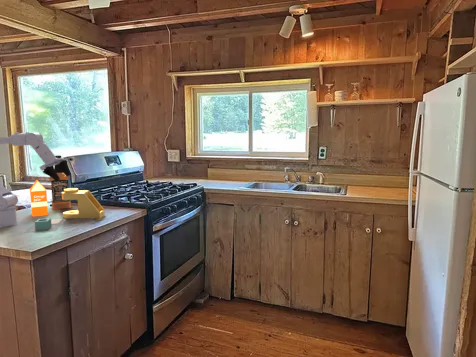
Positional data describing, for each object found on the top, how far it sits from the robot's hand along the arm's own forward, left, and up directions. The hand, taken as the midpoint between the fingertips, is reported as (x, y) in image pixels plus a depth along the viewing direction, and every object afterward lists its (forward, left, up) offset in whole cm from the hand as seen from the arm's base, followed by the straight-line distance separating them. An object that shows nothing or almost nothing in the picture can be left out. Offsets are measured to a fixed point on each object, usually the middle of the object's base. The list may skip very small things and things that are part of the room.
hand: (63, 177), depth 165 cm
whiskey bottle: (-14, +45, -24) cm, 53 cm away
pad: (-9, +5, -23) cm, 25 cm away
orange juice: (-20, +25, -24) cm, 40 cm away
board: (-9, -1, -24) cm, 26 cm away
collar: (-9, -6, -23) cm, 25 cm away
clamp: (+5, +14, -24) cm, 29 cm away
